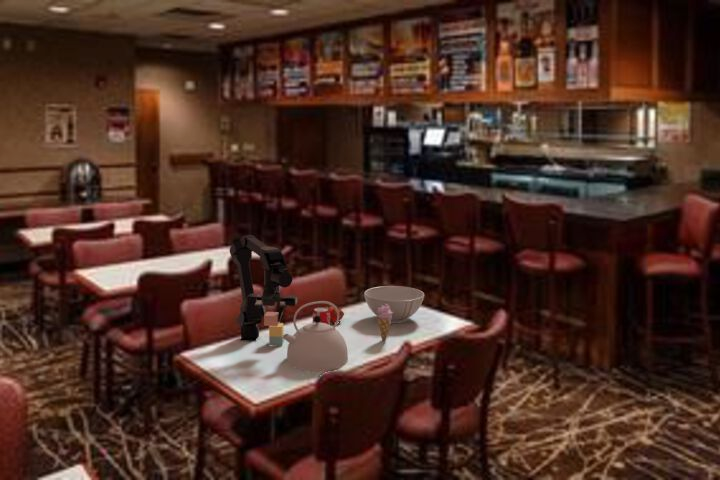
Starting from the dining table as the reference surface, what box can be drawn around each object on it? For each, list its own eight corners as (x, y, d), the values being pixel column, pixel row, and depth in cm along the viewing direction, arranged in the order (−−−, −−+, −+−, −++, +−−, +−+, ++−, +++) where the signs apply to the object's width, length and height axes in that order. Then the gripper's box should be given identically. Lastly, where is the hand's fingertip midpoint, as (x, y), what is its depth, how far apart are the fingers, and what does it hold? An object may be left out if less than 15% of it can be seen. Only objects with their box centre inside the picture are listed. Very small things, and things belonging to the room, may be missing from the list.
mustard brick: (269, 336, 267) (269, 326, 266) (271, 332, 272) (270, 322, 271) (281, 336, 267) (281, 326, 266) (283, 332, 272) (283, 323, 271)
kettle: (293, 376, 237) (292, 313, 233) (272, 355, 257) (272, 297, 253) (357, 365, 247) (358, 305, 243) (333, 346, 267) (333, 291, 263)
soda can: (327, 340, 274) (327, 312, 272) (310, 339, 275) (310, 311, 273) (331, 335, 281) (331, 307, 279) (315, 334, 282) (315, 306, 280)
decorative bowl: (426, 328, 291) (426, 301, 289) (363, 327, 292) (363, 300, 289) (421, 311, 318) (421, 286, 316) (364, 310, 318) (364, 285, 316)
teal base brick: (269, 346, 267) (269, 336, 267) (271, 342, 272) (271, 332, 272) (282, 346, 267) (282, 336, 267) (283, 342, 272) (283, 332, 272)
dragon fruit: (318, 328, 296) (341, 327, 302) (327, 320, 290) (351, 320, 296) (314, 309, 299) (337, 310, 306) (323, 302, 293) (347, 302, 300)
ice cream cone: (395, 339, 277) (395, 303, 274) (389, 343, 271) (389, 307, 268) (380, 337, 279) (380, 301, 277) (374, 341, 274) (374, 305, 271)
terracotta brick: (264, 325, 257) (264, 315, 257) (267, 321, 262) (267, 311, 262) (277, 326, 257) (277, 316, 256) (279, 322, 262) (279, 312, 261)
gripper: (242, 286, 249) (243, 326, 252) (293, 288, 248) (292, 328, 251) (249, 278, 260) (249, 317, 263) (297, 280, 259) (297, 319, 262)
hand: (272, 321), depth 259 cm, fingers closed on terracotta brick, 5 cm apart
